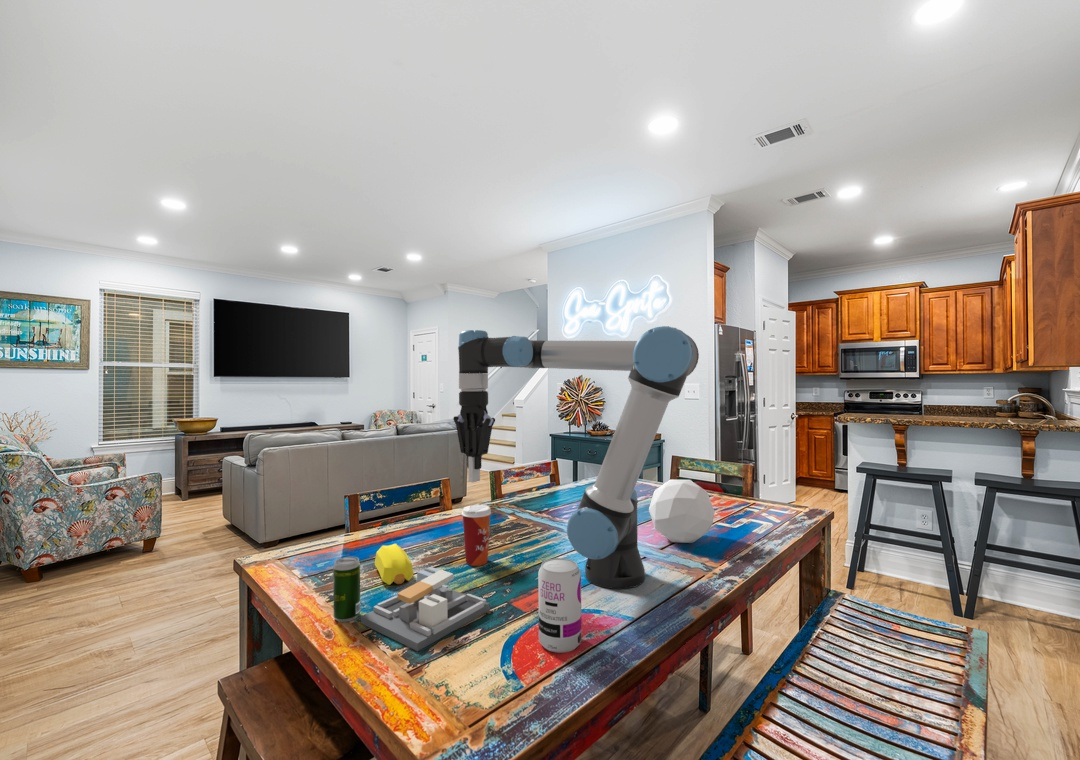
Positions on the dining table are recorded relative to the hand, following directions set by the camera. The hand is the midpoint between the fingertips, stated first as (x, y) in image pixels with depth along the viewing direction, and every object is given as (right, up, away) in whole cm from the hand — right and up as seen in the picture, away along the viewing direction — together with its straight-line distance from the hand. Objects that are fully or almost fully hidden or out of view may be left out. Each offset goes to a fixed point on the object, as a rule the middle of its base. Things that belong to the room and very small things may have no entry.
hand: (474, 481), depth 126 cm
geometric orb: (+61, -24, +26) cm, 71 cm away
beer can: (-24, -25, -22) cm, 41 cm away
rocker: (-7, -19, -22) cm, 30 cm away
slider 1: (-8, -23, -13) cm, 28 cm away
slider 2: (-4, -23, -28) cm, 36 cm away
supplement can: (+21, -25, -33) cm, 46 cm away
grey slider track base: (-7, -25, -22) cm, 34 cm away
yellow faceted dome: (-21, -25, +1) cm, 33 cm away
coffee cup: (-1, -25, +9) cm, 26 cm away
